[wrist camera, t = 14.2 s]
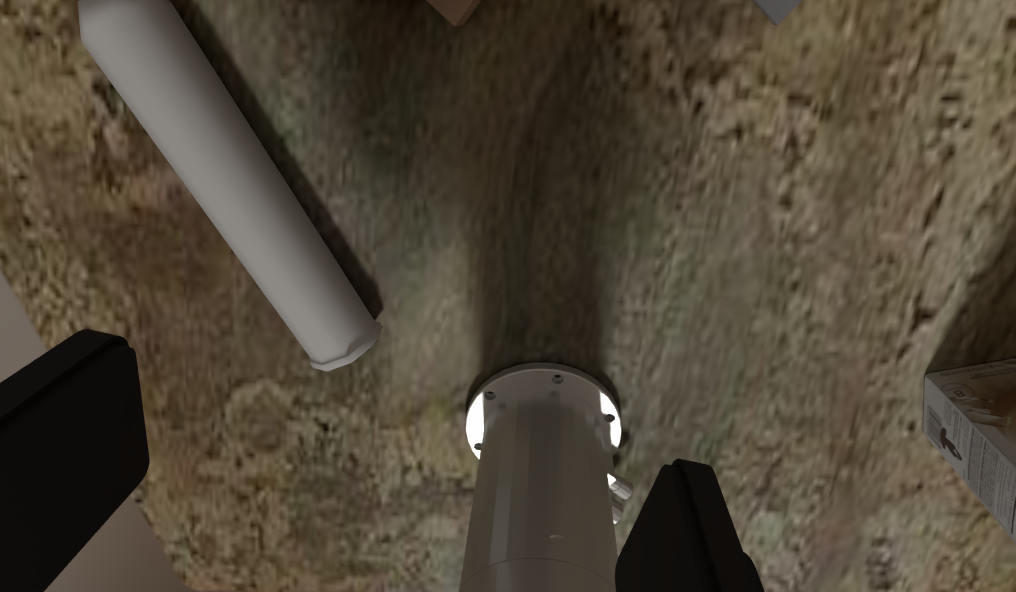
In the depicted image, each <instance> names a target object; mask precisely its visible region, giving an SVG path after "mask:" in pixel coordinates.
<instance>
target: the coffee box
mask: <svg viewBox="0 0 1016 592" xmlns="http://www.w3.org/2000/svg"><path fill="white" fill-rule="evenodd" d="M923 433H924V434H925V435H926V437H927V438H928V439H929V440H930V441H931V443H932V444H933V445H934V446H935V447H936V448H937V450H938V451H939V452H940V453H941V454H942V456H943V457H944V458H945V459H946V460H947V462H948V463H949V464H950V465H951V466H952V468H953V469H954V470H955V471H956V472H957V474H958V475H959V476H960V477H961V479H962V480H963V481H964V482H965V483H966V484H967V486H968V487H969V488H970V489H971V490H972V492H973V493H974V494H975V495H976V496H977V498H978V499H979V500H980V501H981V502H982V504H983V505H984V506H985V507H986V508H987V510H988V511H989V512H990V513H991V514H992V515H993V517H994V518H995V519H996V520H997V521H998V523H999V524H1000V525H1001V526H1002V527H1003V529H1004V530H1005V531H1006V532H1007V533H1008V535H1009V536H1010V537H1011V538H1012V539H1013V541H1014V542H1015V543H1016V358H1014V359H1008V360H1002V361H996V362H991V363H985V364H979V365H973V366H967V367H962V368H956V369H950V370H944V371H939V372H933V373H928V374H926V375H925V380H924V411H923Z"/></svg>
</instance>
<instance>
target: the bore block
mask: <svg viewBox="0 0 1016 592" xmlns="http://www.w3.org/2000/svg"><path fill="white" fill-rule="evenodd" d="M426 1H427V2H428V3H429V4H430V5H432V6H433V7H434V8H435V9H436V10H437V11H438V12H439V13H440V14H441V15H442V16H444V17H445V18H446V19H447V20H448V21H449V22H450V23H451V24H452V25H453V26H454V27H456V26H459V25H463V24H466V22H467V21H468V20H469V18H470V17H471V16H472V14H473V13H474V11H475V10H476V9H477V7H478V6H479V4H480V3H481V2H482V0H426Z"/></svg>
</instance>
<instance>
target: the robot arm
mask: <svg viewBox="0 0 1016 592" xmlns="http://www.w3.org/2000/svg"><path fill="white" fill-rule="evenodd" d="M465 431H466V436H467V441H468V443H469V445H470V448H471V450H472V451H473V453H474V454H475V455H476V457H477V458H478V459H479V464H478V471H477V477H476V484H475V490H474V497H473V503H472V510H471V517H470V523H469V530H468V536H467V543H466V549H465V556H464V562H463V569H462V575H461V582H460V589H459V592H764V589H763V586H762V584H761V581H760V578H759V575H758V573H757V570H756V568H755V566H754V564H753V562H752V560H751V558H750V557H749V556H748V555H747V554H746V553H744V552H743V550H742V547H741V545H740V542H739V539H738V536H737V533H736V531H735V528H734V525H733V522H732V520H731V517H730V514H729V511H728V508H727V506H726V503H725V500H724V497H723V495H722V492H721V489H720V486H719V483H718V481H717V478H716V475H715V472H714V470H713V469H712V467H711V466H709V465H706V464H702V463H697V462H692V461H688V460H683V459H676V460H675V461H674V462H673V463H672V465H666V464H665V465H664V466H663V467H662V468H661V470H660V472H659V474H658V476H657V478H656V480H655V482H654V484H653V487H652V489H651V491H650V493H649V495H648V497H647V499H646V501H645V503H644V505H643V507H642V509H641V511H640V514H639V516H638V518H637V520H636V522H635V524H634V526H633V528H632V530H631V532H630V534H629V536H628V539H627V541H626V543H625V545H624V547H623V549H622V551H621V553H620V555H619V557H618V554H617V546H616V538H615V530H614V524H615V523H617V522H618V521H619V520H620V519H621V517H622V514H623V506H622V504H621V503H620V502H618V501H617V500H615V499H614V498H612V497H611V496H610V489H611V491H612V492H614V493H615V494H617V495H618V496H619V497H621V498H623V499H627V498H629V497H630V496H631V494H632V492H633V486H632V484H631V483H629V482H628V481H627V480H625V479H624V478H622V477H621V476H618V475H617V474H615V472H614V465H613V458H612V457H613V456H614V454H615V453H616V451H617V449H618V446H619V443H620V441H621V433H622V426H621V418H620V413H619V410H618V406H617V404H616V402H615V400H614V398H613V396H612V395H611V393H610V392H609V391H608V390H607V389H606V388H605V387H604V385H603V384H601V383H600V382H599V381H597V380H596V379H595V378H593V377H592V376H590V375H588V374H587V373H585V372H583V371H581V370H579V369H576V368H572V367H569V366H566V365H562V364H555V363H548V362H547V363H527V364H521V365H516V366H513V367H511V368H508V369H505V370H502V371H501V372H499V373H497V374H495V375H493V376H492V377H490V378H489V379H488V380H487V381H485V382H484V383H483V384H482V385H481V386H480V387H479V388H478V390H477V391H476V392H475V394H474V395H473V397H472V399H471V401H470V403H469V406H468V410H467V415H466V423H465ZM148 467H149V452H148V444H147V436H146V428H145V421H144V413H143V405H142V397H141V390H140V382H139V374H138V366H137V358H136V353H135V351H134V349H133V348H130V347H129V345H128V342H127V341H126V339H125V338H123V337H121V336H117V335H112V334H108V333H103V332H99V331H94V330H89V329H85V330H81V331H79V332H77V333H75V334H73V335H72V336H70V337H69V338H67V339H66V340H64V341H63V342H61V343H60V344H58V345H57V346H55V347H54V348H52V349H51V350H49V351H48V352H46V353H45V354H43V355H42V356H40V357H39V358H37V359H36V360H34V361H33V362H31V363H30V364H28V365H27V366H25V367H23V368H22V369H20V370H19V371H17V372H16V373H14V374H13V375H12V376H10V377H8V378H7V379H5V380H4V381H2V382H1V383H0V592H44V591H45V590H46V589H47V587H48V586H49V585H50V584H51V583H52V582H53V581H54V580H55V578H56V577H57V576H58V575H59V574H60V573H61V572H62V571H63V569H64V568H65V567H66V566H67V565H68V564H69V563H70V562H71V560H72V559H73V558H74V557H75V556H76V555H77V553H78V552H79V551H80V550H81V549H82V548H83V547H84V546H85V545H86V543H87V542H88V541H89V540H90V539H91V538H92V537H93V536H94V534H95V533H96V532H97V531H98V530H99V529H100V528H101V526H102V525H103V524H104V523H105V522H106V521H107V520H108V519H109V517H110V516H111V515H112V514H113V513H114V512H115V510H116V509H117V508H118V507H119V506H120V505H121V504H122V503H123V502H124V501H125V499H126V498H127V497H128V496H129V495H130V494H131V493H132V492H133V490H134V489H135V488H136V487H137V486H138V485H139V484H140V482H141V481H142V480H143V478H144V477H145V475H146V473H147V470H148Z"/></svg>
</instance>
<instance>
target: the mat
mask: <svg viewBox="0 0 1016 592" xmlns="http://www.w3.org/2000/svg"><path fill="white" fill-rule="evenodd" d="M753 1H754V2H755V3H756V4H757V6H758V7H759V8H760V9H761V10H762V11H763V12H764V14H765V15H766V16H767V17H768V18H769V19H770V21H771V22H772V23H773V24H774V25H778V24H779V23H780V22H781V21H782V20H783V19H784V18H785V17H786V16H787V15H788V14H789V13H790V12H791V11H792V10H793V9H794V8H795V7H796V6H797V5H798V4H799V3H800V2H801V1H802V0H753Z"/></svg>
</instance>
